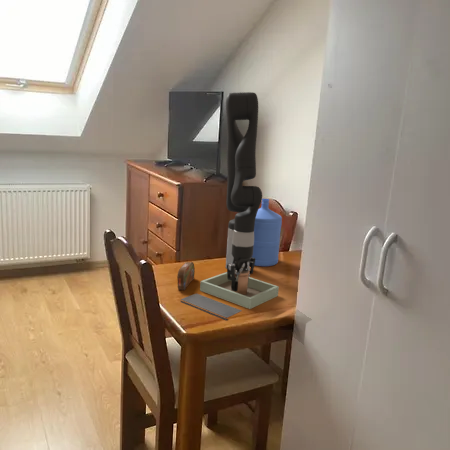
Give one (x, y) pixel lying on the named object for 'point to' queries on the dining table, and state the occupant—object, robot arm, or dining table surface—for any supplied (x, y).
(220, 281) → the pale green tray
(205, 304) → the slate tile
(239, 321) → the dining table surface
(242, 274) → the clay pot
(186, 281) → the tin
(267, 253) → the water jug
